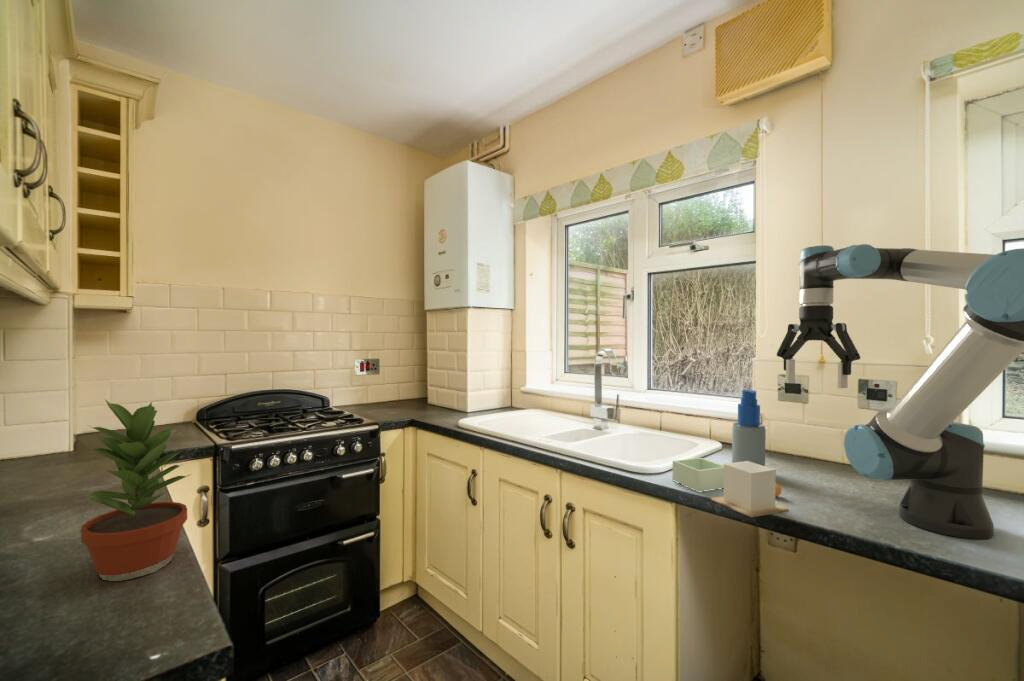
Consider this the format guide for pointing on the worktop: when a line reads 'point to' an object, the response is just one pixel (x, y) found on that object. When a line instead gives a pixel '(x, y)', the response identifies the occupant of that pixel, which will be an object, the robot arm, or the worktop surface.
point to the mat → (750, 513)
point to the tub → (699, 474)
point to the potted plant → (134, 499)
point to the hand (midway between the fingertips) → (815, 385)
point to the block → (749, 485)
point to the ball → (777, 490)
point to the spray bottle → (748, 431)
